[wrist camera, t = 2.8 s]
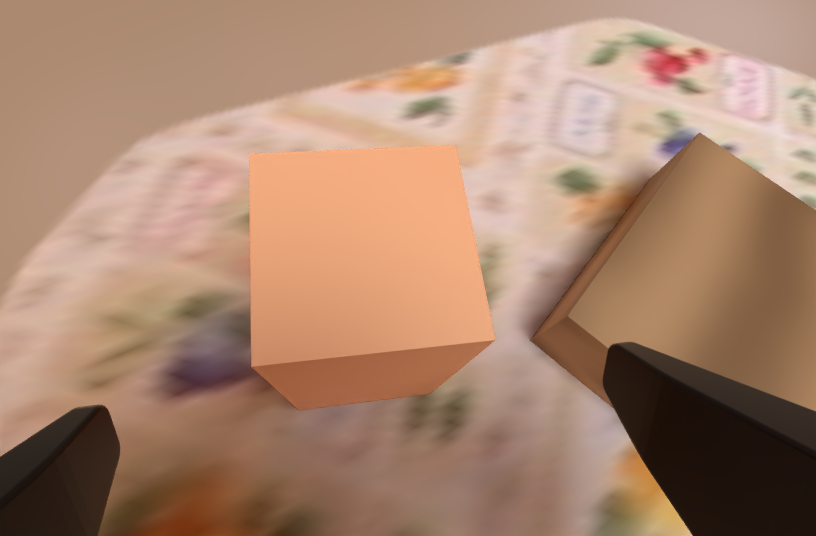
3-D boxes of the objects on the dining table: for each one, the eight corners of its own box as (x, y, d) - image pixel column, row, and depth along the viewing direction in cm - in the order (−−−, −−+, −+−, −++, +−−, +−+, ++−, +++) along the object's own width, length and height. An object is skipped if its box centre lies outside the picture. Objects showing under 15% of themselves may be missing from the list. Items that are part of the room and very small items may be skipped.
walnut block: (843, 323, 22) (942, 295, 18) (755, 529, 18) (859, 547, 14) (645, 183, 24) (699, 132, 20) (527, 342, 20) (567, 316, 16)
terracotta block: (429, 393, 18) (495, 340, 10) (299, 410, 17) (251, 367, 9) (412, 274, 20) (455, 144, 12) (293, 284, 19) (249, 153, 11)
